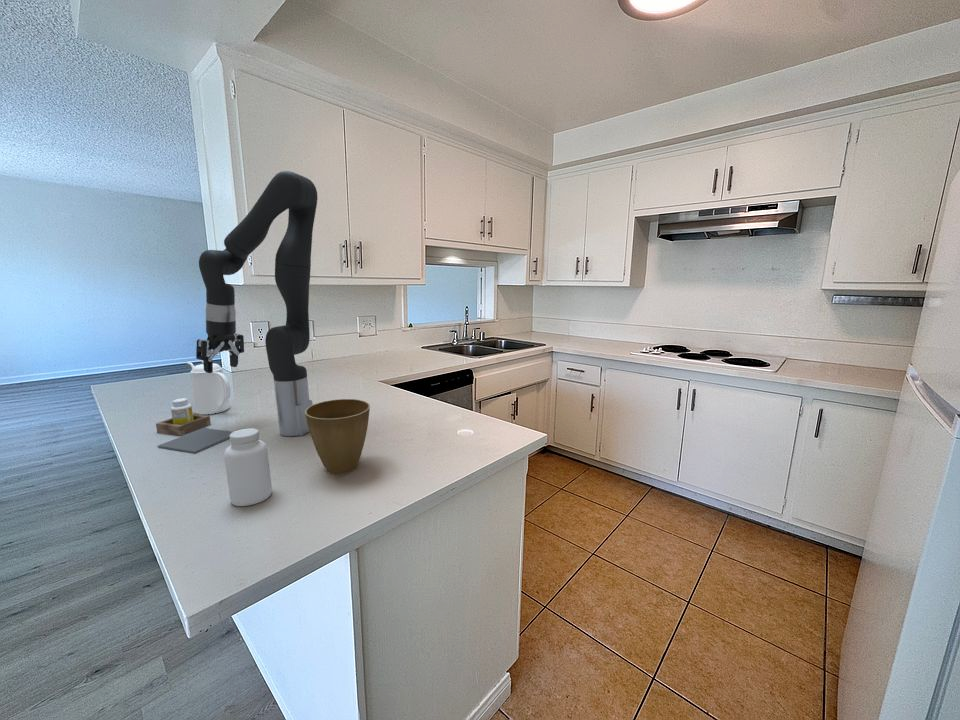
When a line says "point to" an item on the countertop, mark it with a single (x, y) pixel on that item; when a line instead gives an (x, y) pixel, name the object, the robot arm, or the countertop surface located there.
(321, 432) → the plant pot
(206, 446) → the rubber mat
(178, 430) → the collar holder
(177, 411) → the supplement bottle
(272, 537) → the countertop surface
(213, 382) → the coffeepot
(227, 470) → the pill bottle
